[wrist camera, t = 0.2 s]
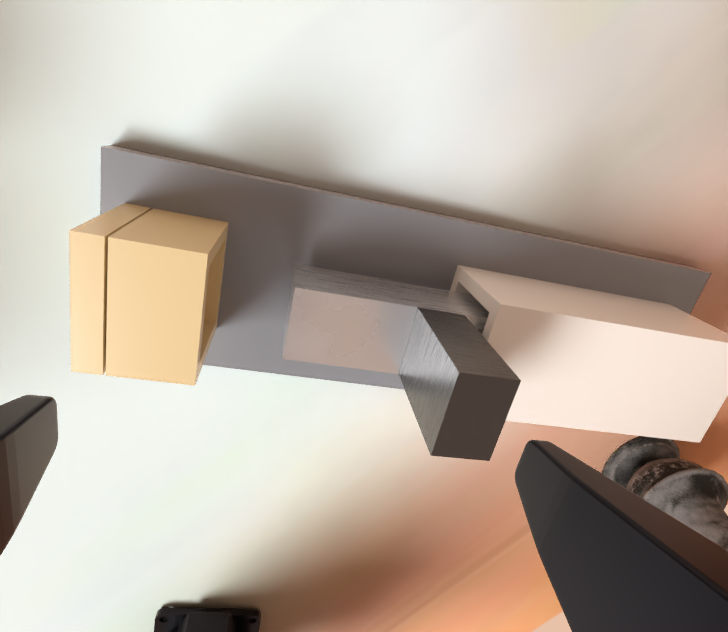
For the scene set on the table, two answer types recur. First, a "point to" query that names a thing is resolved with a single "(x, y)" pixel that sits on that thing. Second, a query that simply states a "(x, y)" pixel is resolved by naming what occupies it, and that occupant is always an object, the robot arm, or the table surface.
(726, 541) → the dark grey statuette
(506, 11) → the table surface
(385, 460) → the table surface
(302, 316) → the steel t-shaped block
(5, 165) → the table surface
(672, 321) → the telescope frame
